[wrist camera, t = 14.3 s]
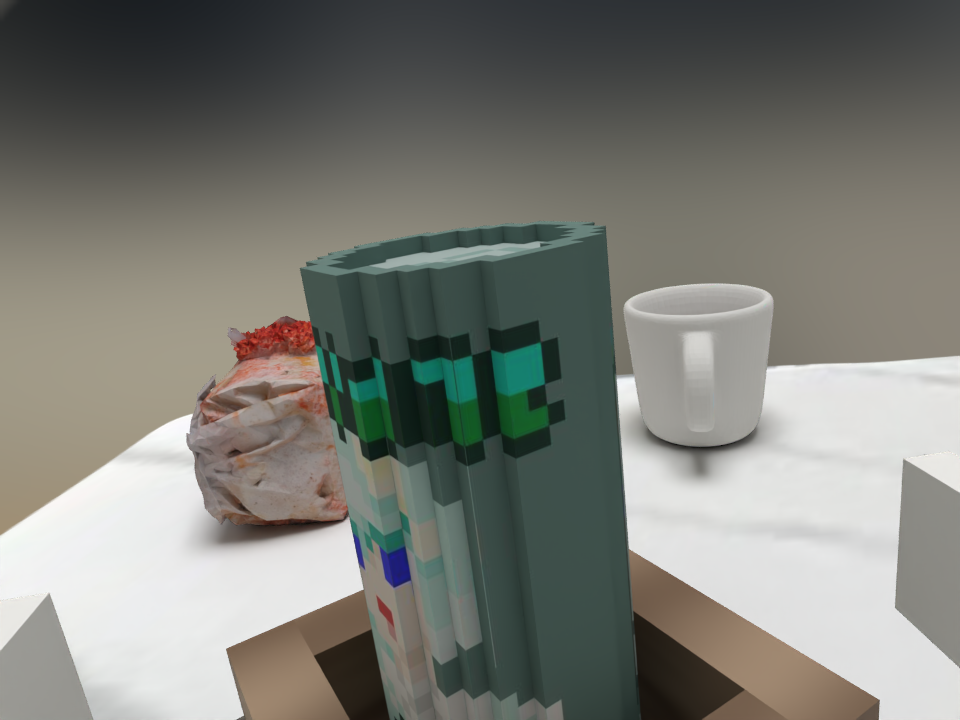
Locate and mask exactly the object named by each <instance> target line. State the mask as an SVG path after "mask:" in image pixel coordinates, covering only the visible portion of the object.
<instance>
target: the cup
mask: <svg viewBox="0 0 960 720" xmlns="http://www.w3.org/2000/svg"><path fill="white" fill-rule="evenodd" d="M773 304H774V303H773V298H772V296H771V295H770V294H769V293H768V292H766V291H764V290H762V289H759V288H755V287H750V286H744V285H735V284H693V285H681V286H674V287H667V288H661V289H657V290H652V291H648V292H645V293H642V294H639V295H637V296H634V297H632V298H631V299H629V300H628V301H627V302H626V303H625V305H624V318H625V323H626V329H627V335H628V341H629V347H630V353H631V359H632V365H633V370H634V376H635V382H636V388H637V394H638V400H639V405H640V410H641V414H642V417H643V420H644V422H645V424H646V426H647V427H648V429H649V430H650V431H651V432H652V433H653V434H654V435H656V436H657V437H659V438H661V439H663V440H665V441H668V442H671V443H675V444H679V445H685V446H696V447H707V446H719V445H724V444H729V443H732V442H735V441H738V440H740V439H742V438H744V437H746V436H747V435H749V434H750V433H751V432H752V431H753V430H754V429H755V427H756V425H757V424H758V421H759V419H760V415H761V411H762V405H763V398H764V388H765V379H766V370H767V361H768V351H769V342H770V333H771V324H772V315H773Z"/></svg>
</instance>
